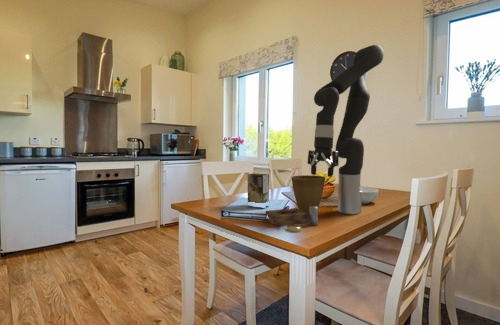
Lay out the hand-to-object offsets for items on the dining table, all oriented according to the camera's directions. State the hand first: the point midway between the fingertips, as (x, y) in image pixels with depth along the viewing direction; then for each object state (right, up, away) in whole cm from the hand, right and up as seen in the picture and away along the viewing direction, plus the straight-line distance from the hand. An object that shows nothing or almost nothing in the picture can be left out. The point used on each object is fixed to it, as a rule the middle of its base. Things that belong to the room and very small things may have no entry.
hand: (321, 175), depth 115 cm
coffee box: (-26, -16, +19) cm, 36 cm away
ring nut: (-14, -19, -17) cm, 29 cm away
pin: (-6, -18, -11) cm, 22 cm away
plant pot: (-4, -17, +9) cm, 20 cm away
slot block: (-15, -18, -6) cm, 24 cm away
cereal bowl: (+29, -16, +30) cm, 45 cm away
